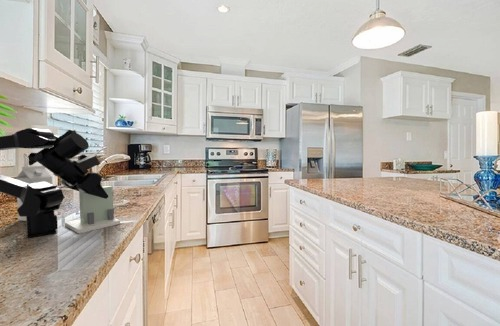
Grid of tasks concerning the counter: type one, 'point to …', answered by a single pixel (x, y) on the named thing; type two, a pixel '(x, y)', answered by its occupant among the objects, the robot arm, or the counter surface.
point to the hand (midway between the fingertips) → (101, 195)
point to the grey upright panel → (95, 205)
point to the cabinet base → (92, 223)
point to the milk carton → (33, 179)
